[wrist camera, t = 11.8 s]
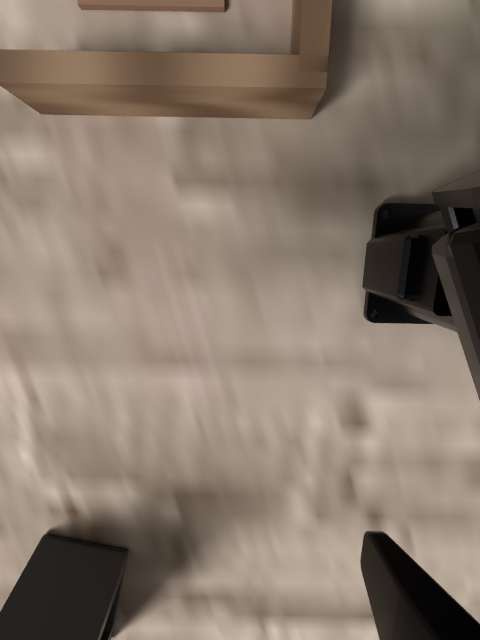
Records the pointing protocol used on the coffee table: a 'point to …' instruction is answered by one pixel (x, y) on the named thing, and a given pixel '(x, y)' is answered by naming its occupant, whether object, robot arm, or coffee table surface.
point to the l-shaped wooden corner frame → (179, 78)
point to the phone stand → (65, 592)
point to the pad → (154, 5)
